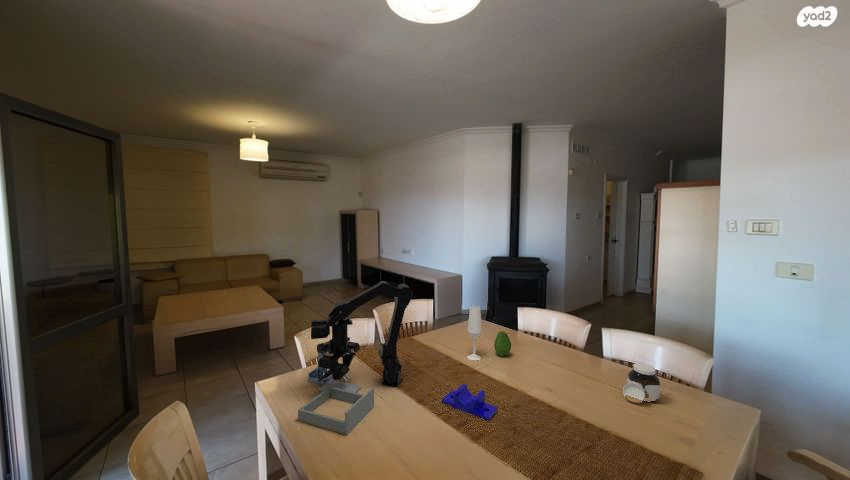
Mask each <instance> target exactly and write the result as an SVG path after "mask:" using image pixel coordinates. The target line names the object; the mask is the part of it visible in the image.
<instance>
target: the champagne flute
mask: <svg viewBox="0 0 850 480" xmlns="http://www.w3.org/2000/svg"><path fill="white" fill-rule="evenodd" d="M482 328H483V327H482V311H481V307H480V306H477V305H476V306H475V305H474V306H470V307H469V315H468V322H467V333H468V335H469V336H470V337H471V338H473V340H472V354H469V355H467V356H466V359H467V358H468V359H467V360H469V359H470V360H469V361H471V360H475V361H474V362H477V361H476V360H479V361H481V360H482V357H481V356H479V355H478V354H477V353H476V344H477V343H476V339H477V338H478V337H480V335H481V334H482V333H483V329H482ZM480 359H481V360H480Z"/></svg>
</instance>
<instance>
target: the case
mask: <svg viewBox="0 0 850 480" xmlns="http://www.w3.org/2000/svg"><path fill="white" fill-rule="evenodd" d="M330 398H331V399H335V400H339V401H343V402H347V403H351V404H352V405H351V406H350V407H349V408H348V409H347V410H345V412H344V420H343V419H339V418H336V417H331V416H328V415H325V414H321V413H318V412H315V411H316V409H318V408H319V407H320V406H322V405H323V404H324V403H325V402H326V401H328V400H329V399H330ZM374 407H375V387H373V386H372V387H370V388H369V389H368V390H367V391H366V392H364V393H359V392H356V393H355V392H351V391H347V390H343V389H339V388H335V387H331V386H329V387H328V388H326V389H325V390H324V391H323V392H322V391H320V393H318V394H317V395H316V396H315V397H312V399H310V400H309V401H308V402H307V403H305V404H304V405H302V406H301V407H300V408H299V409H297V421H298V422H303V423H306V424H310V425H312V426H315V427H319V428H322V429H326V430H329V431H332V432H336V433H338V434H339V433H340V434H342V435H345V436H348V435H349V434H350V433H351V432H352V431H353V430H354V429H355V428H356V427H357V425H359V423H360V422H361V421H362V420H363V419H364V418H365V417H366V416H367V415H368V414H369V413H370V412H371V411H372V410H373V409H374Z"/></svg>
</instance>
